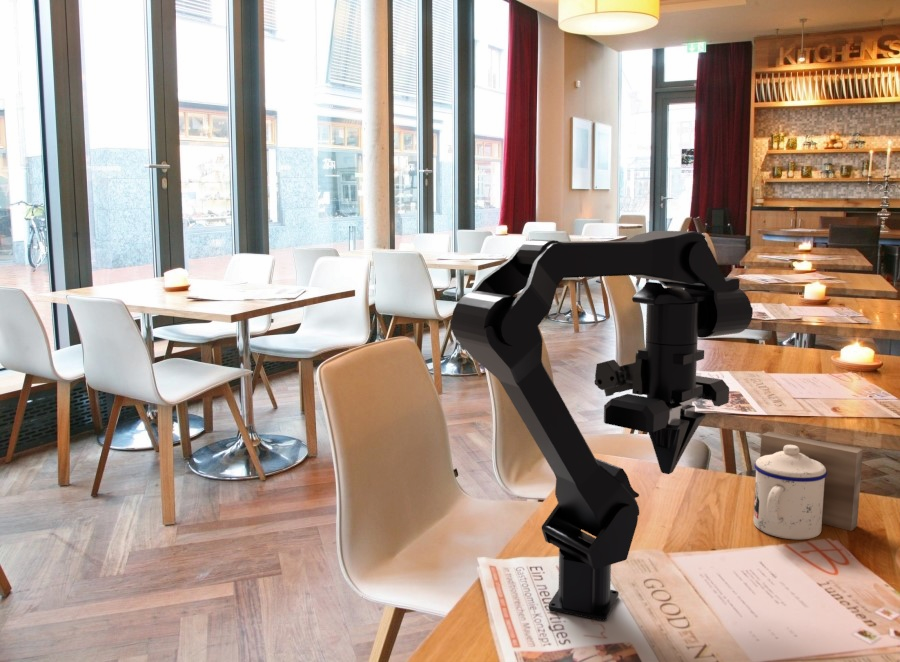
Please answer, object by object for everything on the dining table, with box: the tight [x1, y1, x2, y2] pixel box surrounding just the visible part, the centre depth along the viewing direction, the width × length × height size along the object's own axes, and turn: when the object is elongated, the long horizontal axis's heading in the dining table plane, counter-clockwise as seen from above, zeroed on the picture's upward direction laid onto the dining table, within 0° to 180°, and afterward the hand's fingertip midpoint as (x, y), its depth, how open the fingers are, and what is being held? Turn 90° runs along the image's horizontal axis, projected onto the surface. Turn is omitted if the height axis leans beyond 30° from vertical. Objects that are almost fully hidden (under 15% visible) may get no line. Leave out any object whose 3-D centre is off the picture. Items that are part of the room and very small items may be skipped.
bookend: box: [759, 431, 864, 532], centre depth 113 cm, size 2×13×11 cm, turn 46°
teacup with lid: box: [753, 445, 827, 541], centre depth 108 cm, size 12×9×12 cm
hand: (666, 472), depth 93 cm, fingers closed
